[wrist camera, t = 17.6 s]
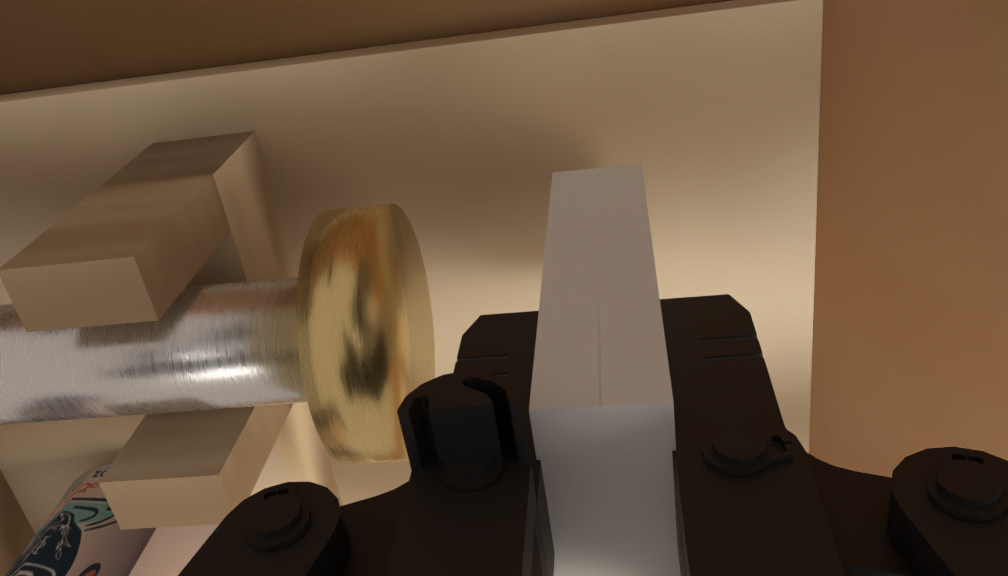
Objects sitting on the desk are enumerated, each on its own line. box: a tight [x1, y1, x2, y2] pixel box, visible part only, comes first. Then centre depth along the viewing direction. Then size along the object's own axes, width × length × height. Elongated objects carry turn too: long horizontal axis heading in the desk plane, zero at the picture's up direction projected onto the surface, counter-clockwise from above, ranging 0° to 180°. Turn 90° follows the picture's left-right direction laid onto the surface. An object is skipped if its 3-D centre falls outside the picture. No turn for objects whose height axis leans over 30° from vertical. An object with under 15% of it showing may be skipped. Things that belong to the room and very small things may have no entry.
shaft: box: [0, 203, 435, 464], centre depth 14 cm, size 4×12×4 cm, turn 98°
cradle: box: [0, 0, 823, 576], centre depth 17 cm, size 16×21×6 cm
